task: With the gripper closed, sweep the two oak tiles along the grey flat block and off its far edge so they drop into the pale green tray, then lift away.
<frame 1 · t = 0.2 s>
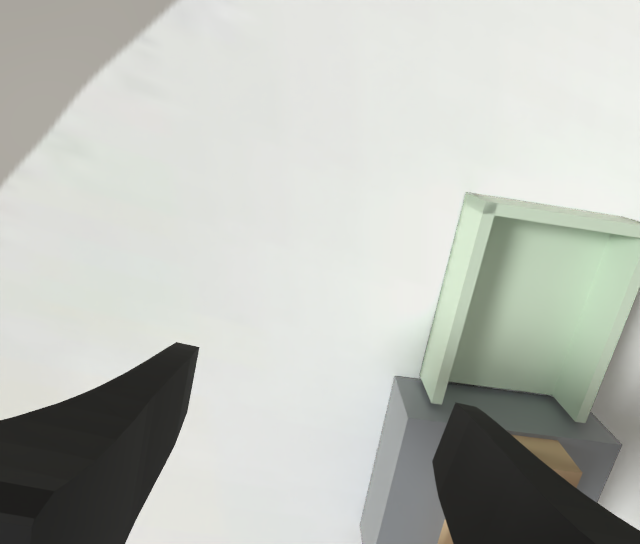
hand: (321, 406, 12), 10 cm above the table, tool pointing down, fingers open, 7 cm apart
grey flat block: (464, 465, 25), on the table
oak tile 2: (503, 470, 21), point 3 cm above the table, touching grey flat block
tray: (515, 300, 22), on the table
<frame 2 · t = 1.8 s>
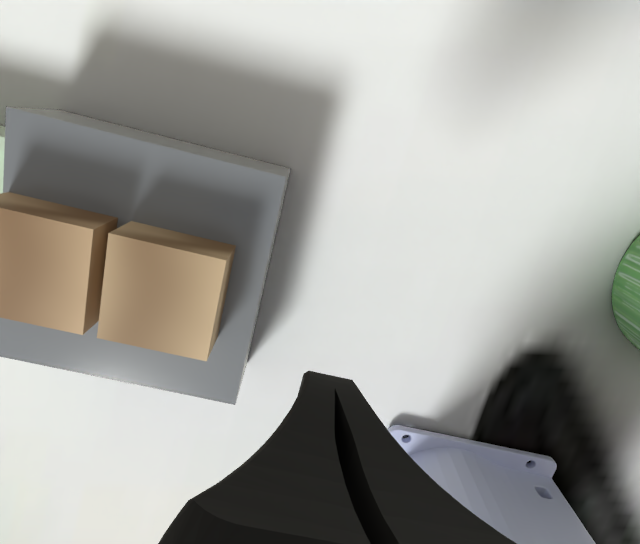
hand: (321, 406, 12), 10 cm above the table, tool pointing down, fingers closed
grey flat block: (161, 248, 21), on the table
oak tile 2: (59, 255, 17), point 3 cm above the table, touching grey flat block
oak tile 1: (176, 281, 18), point 3 cm above the table, touching grey flat block
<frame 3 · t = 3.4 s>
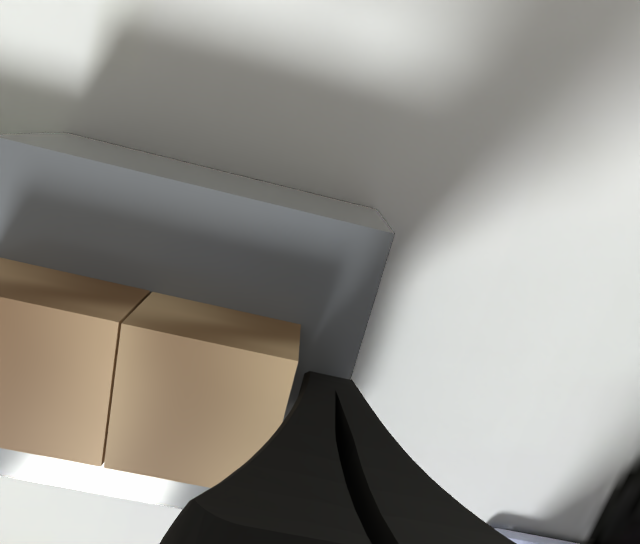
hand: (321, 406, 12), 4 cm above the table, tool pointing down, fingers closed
grey flat block: (200, 313, 16), on the table
oak tile 2: (66, 341, 12), point 3 cm above the table, touching grey flat block
oak tile 1: (214, 372, 13), point 4 cm above the table, touching gripper
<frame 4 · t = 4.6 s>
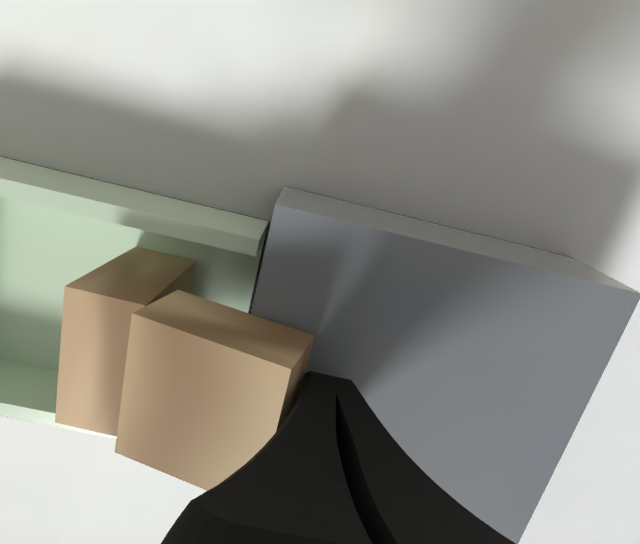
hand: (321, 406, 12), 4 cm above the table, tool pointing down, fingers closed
grey flat block: (388, 354, 16), on the table
oak tile 2: (165, 341, 14), point 2 cm above the table, tilted 93°, touching oak tile 1, tray
oak tile 1: (231, 376, 13), point 4 cm above the table, tilted 15°, touching oak tile 2, gripper
tray: (110, 292, 16), on the table
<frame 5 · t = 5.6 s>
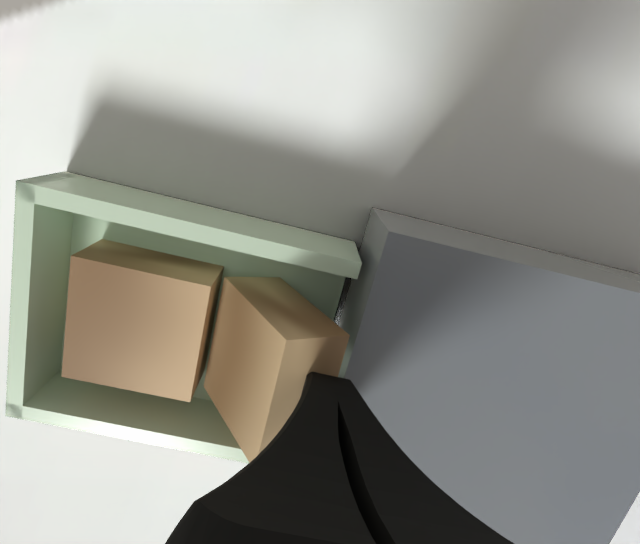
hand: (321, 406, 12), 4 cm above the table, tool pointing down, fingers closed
grey flat block: (464, 370, 17), on the table
oak tile 2: (133, 333, 14), point 2 cm above the table, tilted 180°, touching tray
oak tile 1: (296, 360, 14), point 2 cm above the table, tilted 57°, touching gripper, tray
tray: (195, 310, 16), on the table
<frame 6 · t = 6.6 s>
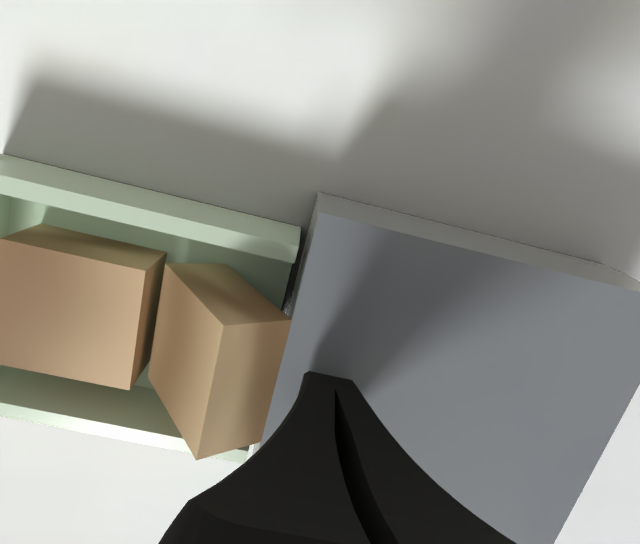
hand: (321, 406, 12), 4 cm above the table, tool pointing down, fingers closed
grey flat block: (417, 360, 16), on the table
oak tile 2: (68, 318, 13), point 2 cm above the table, tilted 180°, touching tray
oak tile 1: (242, 347, 14), point 2 cm above the table, tilted 53°, touching grey flat block, tray
tray: (140, 298, 16), on the table
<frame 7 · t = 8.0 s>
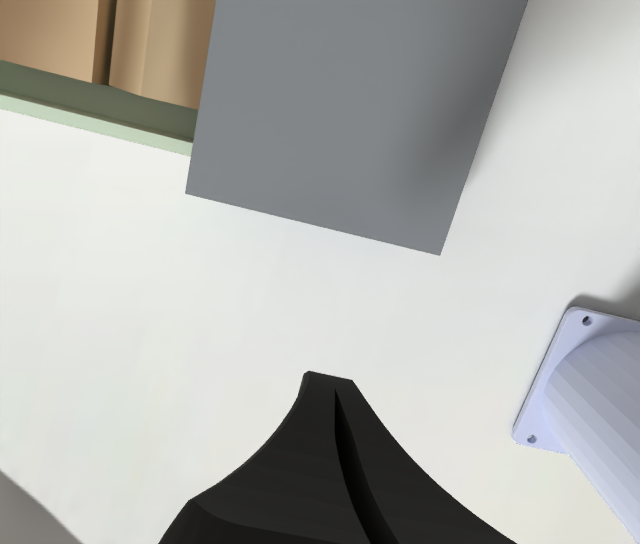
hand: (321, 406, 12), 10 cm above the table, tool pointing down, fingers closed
grey flat block: (344, 94, 19), on the table
oak tile 2: (39, 8, 16), point 2 cm above the table, tilted 180°, touching tray
oak tile 1: (185, 47, 17), point 2 cm above the table, tilted 53°, touching grey flat block, tray
tray: (104, 29, 18), on the table
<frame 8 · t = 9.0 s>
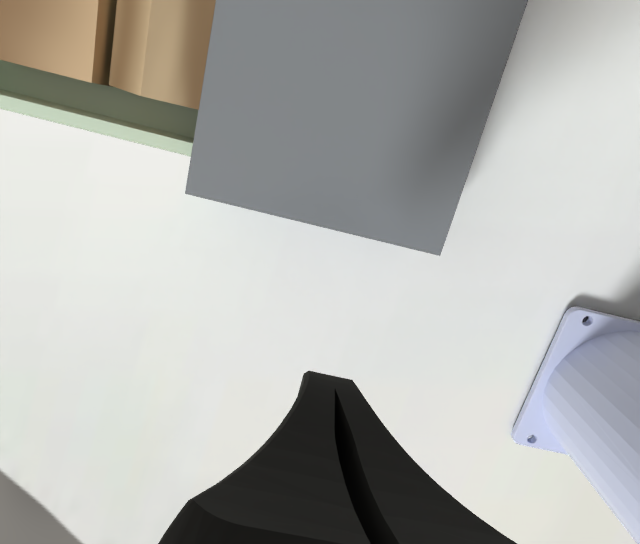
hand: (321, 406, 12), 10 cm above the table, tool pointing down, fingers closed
grey flat block: (344, 94, 19), on the table
oak tile 2: (39, 8, 16), point 2 cm above the table, tilted 180°, touching tray
oak tile 1: (185, 47, 17), point 2 cm above the table, tilted 53°, touching grey flat block, tray
tray: (104, 29, 18), on the table
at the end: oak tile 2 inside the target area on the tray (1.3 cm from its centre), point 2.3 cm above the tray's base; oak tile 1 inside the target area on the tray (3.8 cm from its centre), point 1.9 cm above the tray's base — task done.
